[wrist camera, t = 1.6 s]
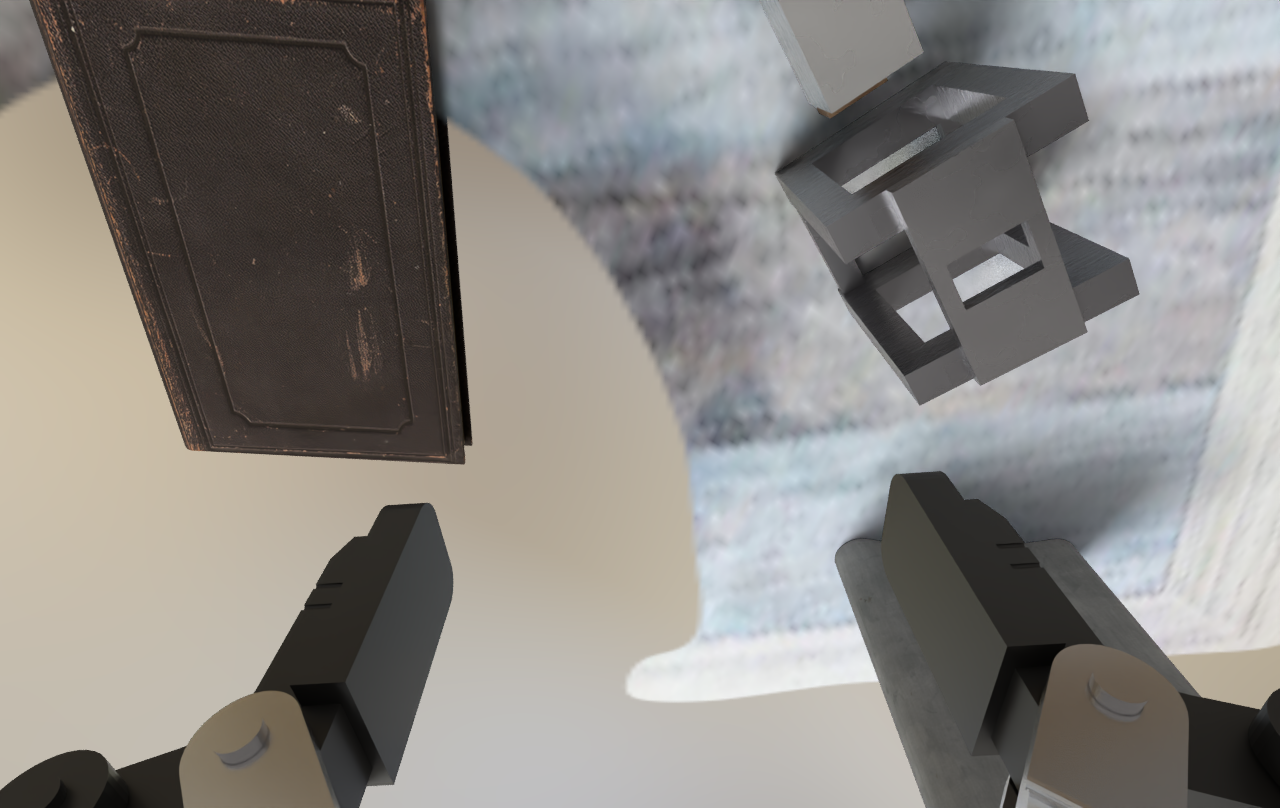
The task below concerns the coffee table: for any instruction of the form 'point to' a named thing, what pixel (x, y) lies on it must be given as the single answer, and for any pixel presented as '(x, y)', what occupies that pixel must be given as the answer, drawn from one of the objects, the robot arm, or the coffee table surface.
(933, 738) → the hip flask
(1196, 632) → the coffee table surface
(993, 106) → the frame
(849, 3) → the square steel tube
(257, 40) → the hardcover book
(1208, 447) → the coffee table surface
